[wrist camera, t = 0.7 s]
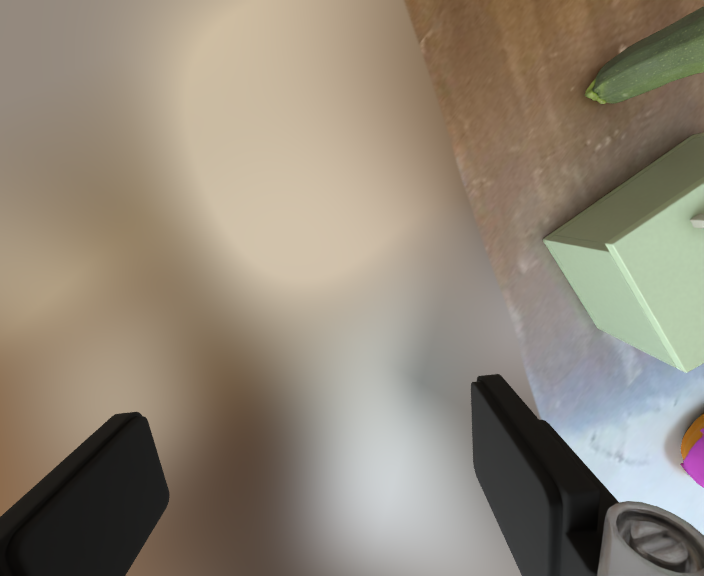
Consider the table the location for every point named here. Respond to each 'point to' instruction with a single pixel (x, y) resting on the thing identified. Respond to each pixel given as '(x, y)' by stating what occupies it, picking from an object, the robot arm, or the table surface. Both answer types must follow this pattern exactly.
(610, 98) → the vegetable
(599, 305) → the pale green open box
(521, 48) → the table surface
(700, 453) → the donut
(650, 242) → the lid
